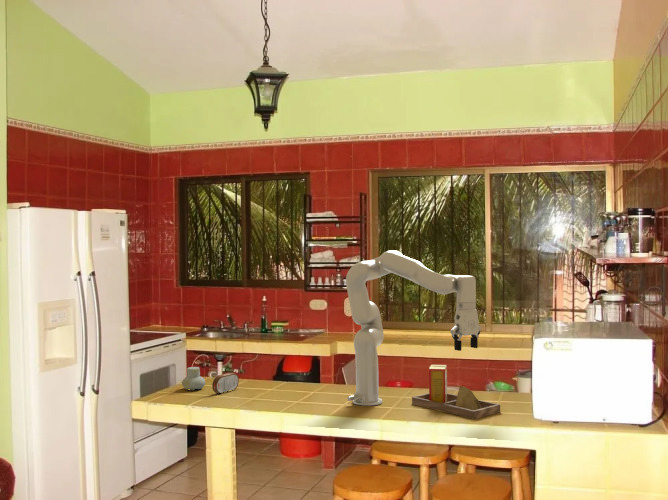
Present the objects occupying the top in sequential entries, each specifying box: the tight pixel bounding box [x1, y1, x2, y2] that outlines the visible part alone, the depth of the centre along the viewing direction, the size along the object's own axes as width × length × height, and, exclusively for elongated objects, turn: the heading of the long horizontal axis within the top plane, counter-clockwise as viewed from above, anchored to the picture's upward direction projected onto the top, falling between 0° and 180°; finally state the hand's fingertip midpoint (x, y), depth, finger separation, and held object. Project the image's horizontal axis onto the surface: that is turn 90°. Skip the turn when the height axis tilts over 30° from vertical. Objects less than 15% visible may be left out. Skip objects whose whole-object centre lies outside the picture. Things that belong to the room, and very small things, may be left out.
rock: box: [455, 385, 482, 410], centre depth 277 cm, size 11×9×10 cm
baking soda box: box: [428, 364, 448, 403], centre depth 290 cm, size 10×6×16 cm
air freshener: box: [181, 366, 206, 391], centre depth 326 cm, size 11×8×10 cm
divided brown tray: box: [411, 392, 501, 420], centre depth 284 cm, size 16×33×3 cm, turn 39°
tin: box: [211, 372, 240, 394], centre depth 319 cm, size 15×3×8 cm, turn 144°
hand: (466, 348), depth 279 cm, fingers open, 9 cm apart
